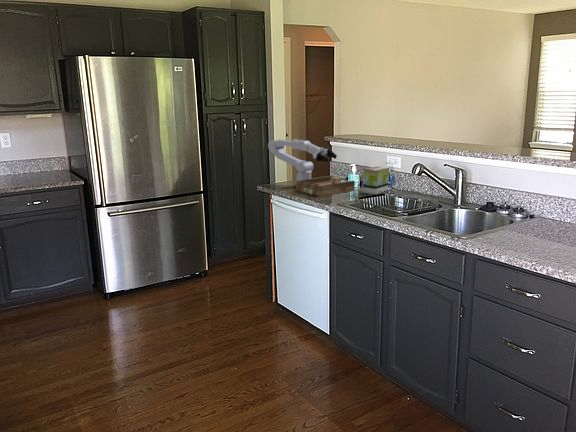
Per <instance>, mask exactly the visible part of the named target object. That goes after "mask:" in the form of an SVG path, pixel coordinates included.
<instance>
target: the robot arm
mask: <svg viewBox="0 0 576 432" xmlns="http://www.w3.org/2000/svg"><path fill="white" fill-rule="evenodd" d="M285 147H291V148H292V149H295V150H300V151H305V152H307V153H309V154H311V155H312V158H313V159H314V160H315V159H316V162H325V163H328V162H329V158H332V159H335V160H336V159H337V157H338V156H337V154H336V153H335V152H334V151H333V150H332V148H331V147H329V148H324V147H319V146H318V145H315V144H313V143H311V141H310V140H304V139H298V138H294V139H292V140H287V139H277V140H270V141H268V143H267V148H268V151H269V152H271V153H272V154H273V155H274V156H275V158H277V159H278V160H280V161H282V162H285V163H287V164H289V165H291V166H293V167H295V169H296V170H297V171H298V172H297V174H296V182H297V181H300V180H307V179H312V172H313V170H314V163H313V162H312V161H307V160H303V159H299V158H297V157H295V156H293V155H290V154H289V153H286V152H285ZM295 186H296V187H297V184H295Z"/></svg>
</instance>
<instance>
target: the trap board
mask: <svg viewBox="0 0 576 432" xmlns="http://www.w3.org/2000/svg"><path fill="white" fill-rule="evenodd" d="M355 184H356V182H355V180H349V181H342V182H341V183H336V184H332V175H329V176H327V175H326V176H322V177H321V176H320V177H315V178H311V179H307V180H300V181H297V180H296V185H297V186H296V191H297V192H301V193H304V192H305V194H308V193H309V195H312V194H313V195H312V196H316V195H317V197H320V196H321V197H324V196H325V195H326V196H331V194H332V195H336V194H341V193H348V192H353V191H355Z"/></svg>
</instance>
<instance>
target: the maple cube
mask: <svg viewBox="0 0 576 432" xmlns="http://www.w3.org/2000/svg"><path fill="white" fill-rule="evenodd" d="M331 181H332V184H336V183H342V182H341V181H342V178H341V177H339V176H333V177H332V176H331Z"/></svg>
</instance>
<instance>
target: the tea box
mask: <svg viewBox="0 0 576 432" xmlns="http://www.w3.org/2000/svg"><path fill="white" fill-rule="evenodd" d="M362 178H363V179H362V181H363V182H362V193H363V194H370V195H378V193H379V194H382V193H385V192H387V191H386V190H389V183H388V180H389V179H390V167H387V166H377V165H376V166H375V165H374V166H371V167H370V166H369V167H367V168H363V177H362ZM389 181H390V180H389ZM384 191H385V192H384ZM381 192H382V193H381Z"/></svg>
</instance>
